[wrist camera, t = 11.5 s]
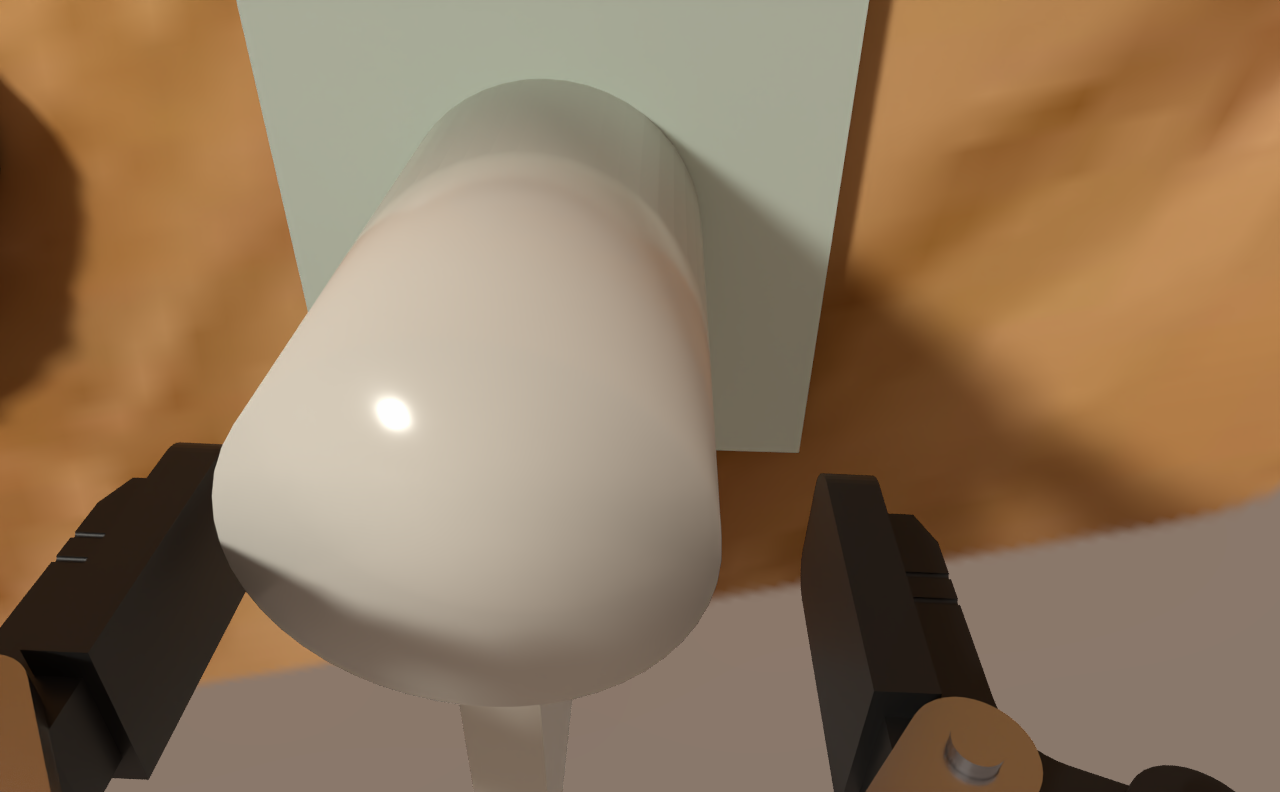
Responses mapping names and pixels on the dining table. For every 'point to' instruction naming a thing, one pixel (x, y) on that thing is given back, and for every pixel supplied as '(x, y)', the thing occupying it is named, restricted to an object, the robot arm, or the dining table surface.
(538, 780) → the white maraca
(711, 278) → the trivet
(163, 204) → the dining table surface
